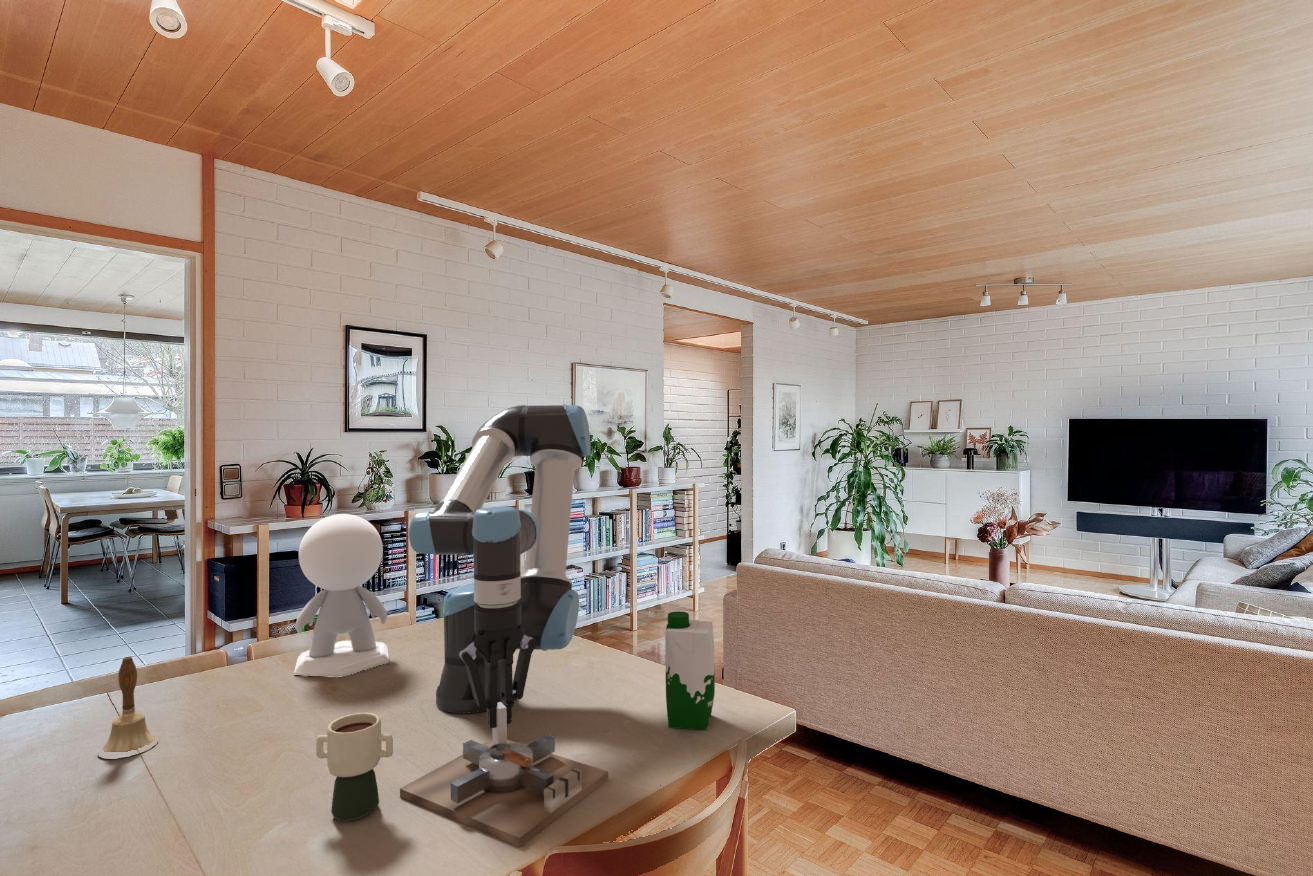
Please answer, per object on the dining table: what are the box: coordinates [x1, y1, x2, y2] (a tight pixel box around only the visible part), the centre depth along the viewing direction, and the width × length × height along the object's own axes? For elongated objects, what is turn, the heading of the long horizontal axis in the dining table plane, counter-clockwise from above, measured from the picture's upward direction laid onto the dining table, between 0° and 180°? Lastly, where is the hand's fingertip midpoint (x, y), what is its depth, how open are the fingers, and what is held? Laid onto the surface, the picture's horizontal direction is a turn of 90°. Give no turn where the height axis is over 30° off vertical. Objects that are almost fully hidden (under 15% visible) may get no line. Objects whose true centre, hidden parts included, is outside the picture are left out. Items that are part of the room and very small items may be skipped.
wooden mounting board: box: [399, 737, 609, 848], centre depth 104 cm, size 24×20×4 cm
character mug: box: [315, 712, 394, 821], centre depth 97 cm, size 11×7×13 cm, turn 91°
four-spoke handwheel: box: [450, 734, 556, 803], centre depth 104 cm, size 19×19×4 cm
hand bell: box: [102, 656, 157, 752], centre depth 118 cm, size 8×8×16 cm
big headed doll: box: [293, 513, 390, 678], centre depth 161 cm, size 20×23×35 cm
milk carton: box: [664, 611, 716, 731], centre depth 127 cm, size 9×9×20 cm
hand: (499, 744), depth 111 cm, fingers closed
